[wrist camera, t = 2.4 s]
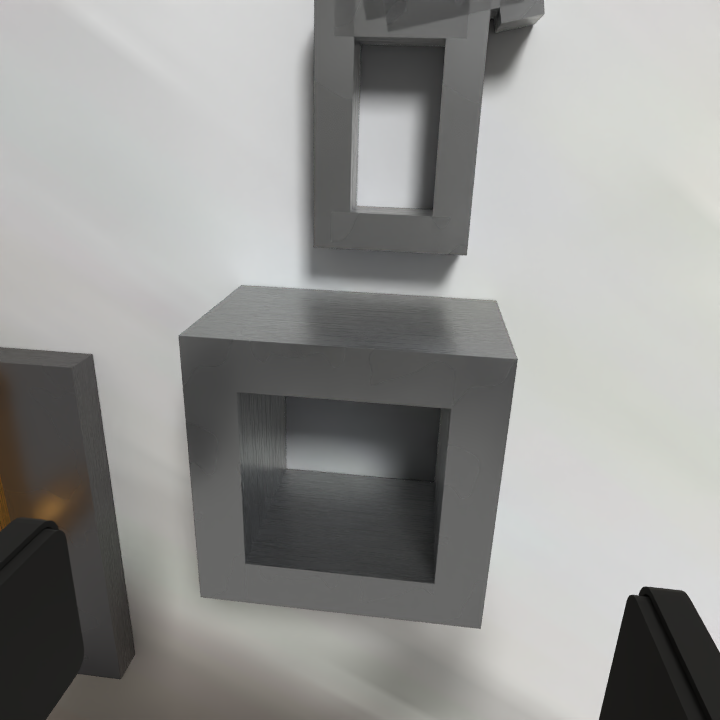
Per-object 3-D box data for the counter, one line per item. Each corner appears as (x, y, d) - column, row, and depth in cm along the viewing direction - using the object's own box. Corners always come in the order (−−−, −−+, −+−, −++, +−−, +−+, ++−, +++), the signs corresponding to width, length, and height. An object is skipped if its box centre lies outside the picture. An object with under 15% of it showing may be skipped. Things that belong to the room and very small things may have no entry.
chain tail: (326, -294, 11) (314, -342, 10) (574, -303, 10) (590, -355, 9) (322, 238, 14) (313, 247, 13) (507, 247, 14) (513, 257, 13)
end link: (241, 285, 15) (178, 335, 11) (496, 300, 14) (517, 358, 11) (250, 497, 17) (200, 597, 14) (470, 519, 17) (480, 628, 13)
